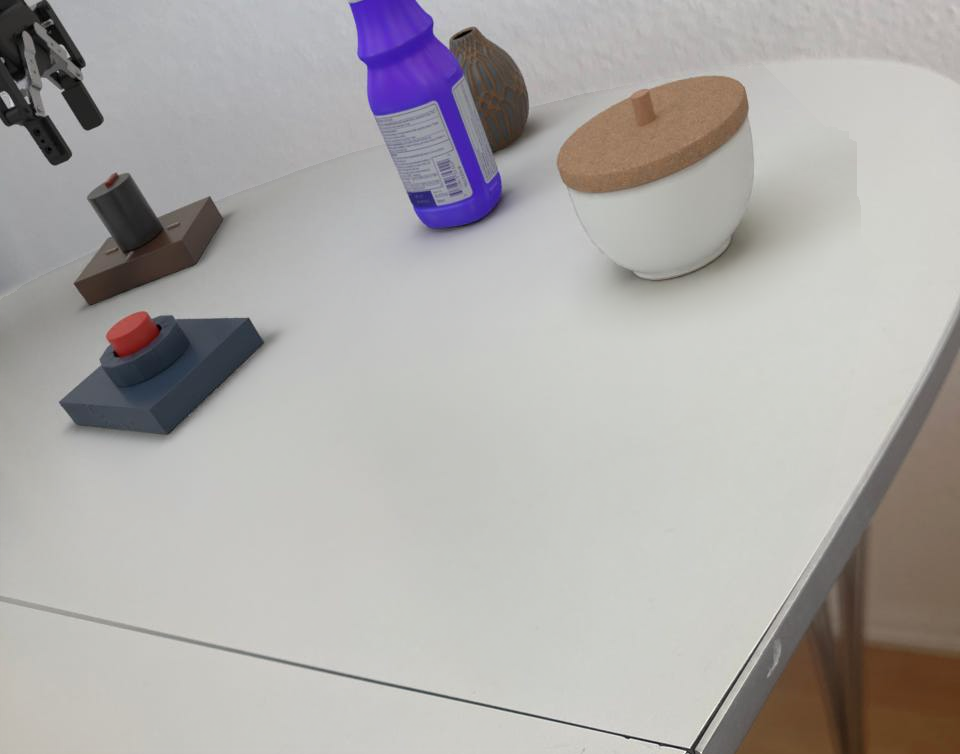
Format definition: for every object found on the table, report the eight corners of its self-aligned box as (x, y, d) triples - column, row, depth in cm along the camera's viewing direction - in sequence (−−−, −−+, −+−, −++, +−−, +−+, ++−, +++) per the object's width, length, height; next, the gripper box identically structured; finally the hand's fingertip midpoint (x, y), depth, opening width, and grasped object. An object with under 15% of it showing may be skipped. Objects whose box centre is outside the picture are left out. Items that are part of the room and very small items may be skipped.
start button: (111, 359, 75) (96, 339, 74) (143, 330, 76) (130, 311, 75) (137, 359, 73) (122, 339, 72) (169, 330, 74) (156, 310, 73)
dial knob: (154, 241, 97) (118, 184, 93) (114, 257, 98) (77, 201, 94) (168, 219, 100) (134, 164, 96) (130, 235, 101) (94, 181, 98)
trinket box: (588, 321, 58) (535, 167, 52) (602, 235, 65) (556, 90, 59) (775, 270, 54) (741, 96, 48) (768, 184, 61) (738, 23, 55)
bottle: (520, 187, 77) (429, -65, 65) (486, 227, 74) (384, -29, 62) (447, 200, 81) (349, -35, 69) (412, 238, 78) (304, 0, 67)
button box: (75, 424, 79) (42, 383, 76) (168, 341, 83) (140, 300, 81) (167, 434, 70) (133, 388, 68) (264, 342, 75) (236, 295, 73)
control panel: (88, 305, 99) (71, 281, 98) (121, 259, 106) (106, 236, 104) (196, 263, 95) (180, 238, 93) (223, 218, 102) (209, 194, 100)
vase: (497, 163, 82) (456, 52, 76) (449, 160, 87) (408, 57, 81) (554, 120, 84) (519, 8, 78) (505, 120, 89) (468, 15, 83)
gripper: (-39, -52, 88) (75, 130, 99) (-118, -9, 78) (18, 188, 89) (27, -88, 86) (136, 102, 97) (-46, -47, 76) (85, 159, 87)
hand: (79, 143), depth 93 cm, fingers open, 8 cm apart
